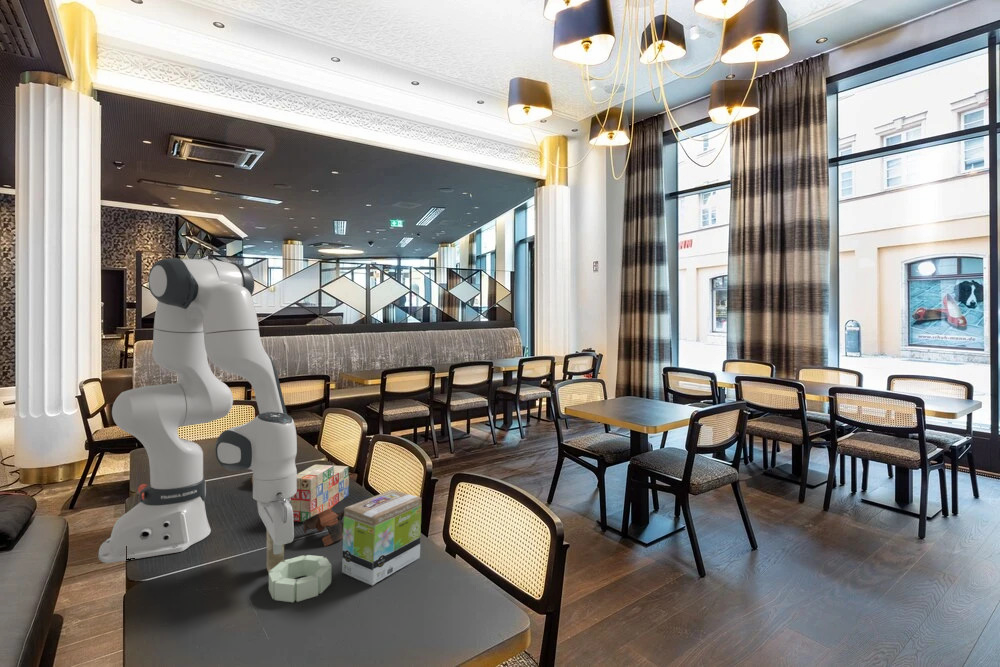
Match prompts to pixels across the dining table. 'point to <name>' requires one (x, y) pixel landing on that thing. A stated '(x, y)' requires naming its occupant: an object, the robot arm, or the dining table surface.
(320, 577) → the sage ring
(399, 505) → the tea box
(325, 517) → the pottery mug
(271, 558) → the wooden block
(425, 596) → the dining table surface
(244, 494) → the dining table surface
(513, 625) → the dining table surface
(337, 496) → the stack of blocks
